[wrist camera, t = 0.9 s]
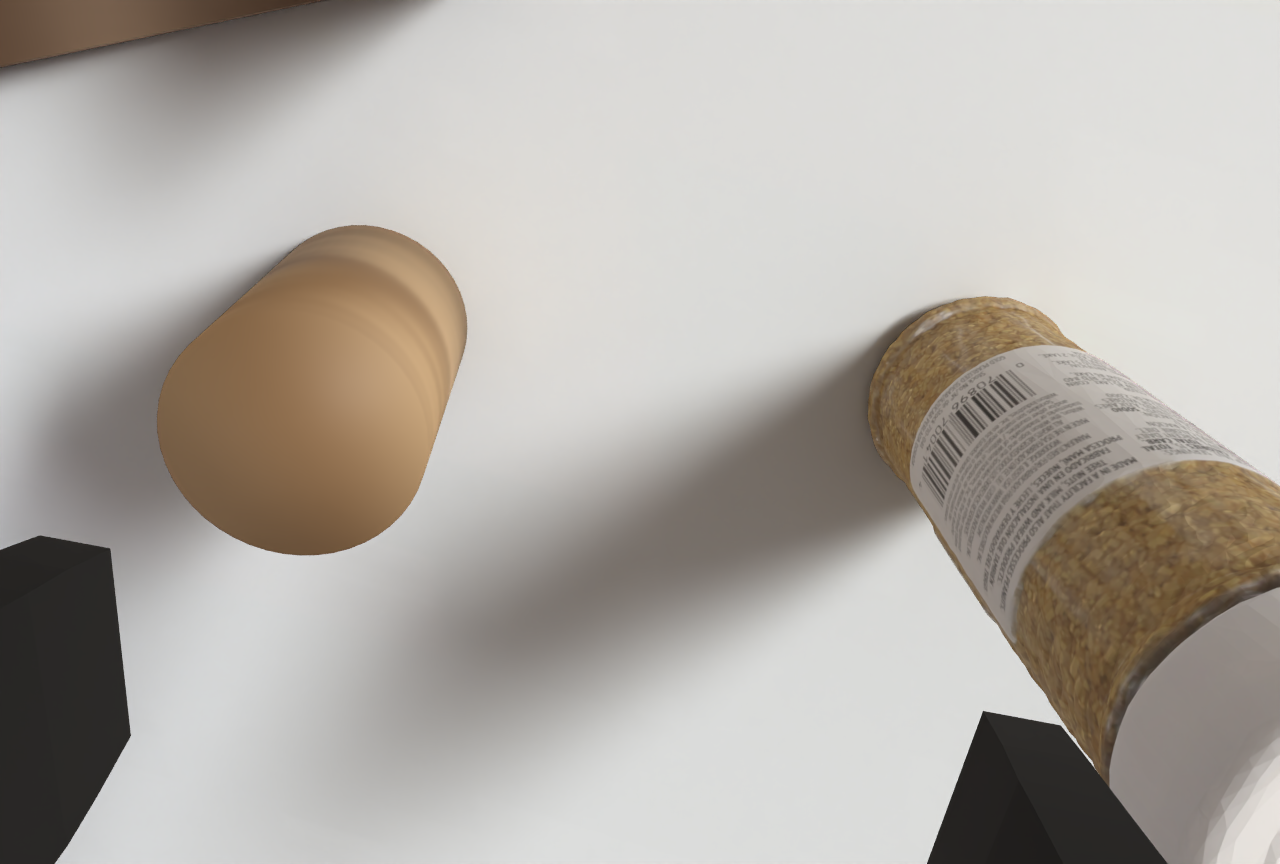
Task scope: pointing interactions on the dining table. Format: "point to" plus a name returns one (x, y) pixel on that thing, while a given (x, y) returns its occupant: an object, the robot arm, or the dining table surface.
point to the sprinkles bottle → (1104, 562)
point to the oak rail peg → (317, 394)
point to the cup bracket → (108, 22)
